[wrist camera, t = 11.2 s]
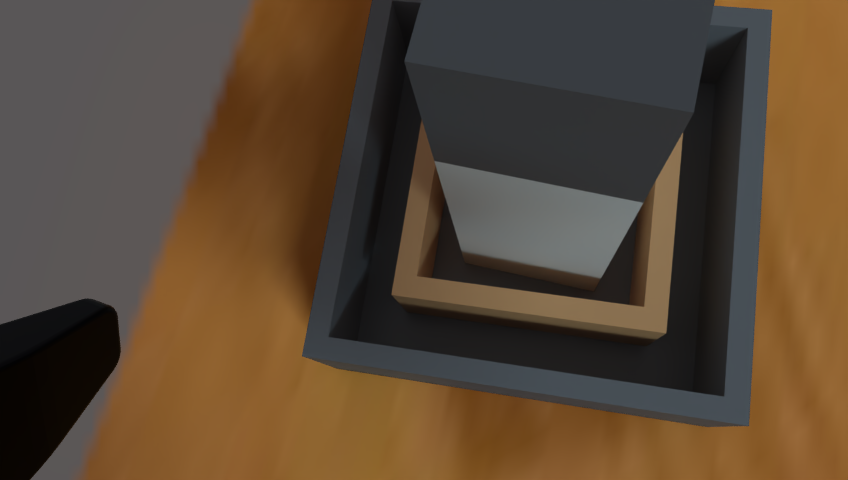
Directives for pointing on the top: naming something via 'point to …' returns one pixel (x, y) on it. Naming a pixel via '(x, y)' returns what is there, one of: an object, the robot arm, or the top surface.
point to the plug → (553, 121)
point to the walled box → (541, 300)
